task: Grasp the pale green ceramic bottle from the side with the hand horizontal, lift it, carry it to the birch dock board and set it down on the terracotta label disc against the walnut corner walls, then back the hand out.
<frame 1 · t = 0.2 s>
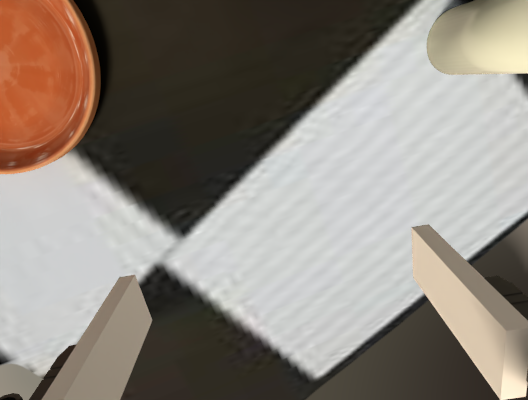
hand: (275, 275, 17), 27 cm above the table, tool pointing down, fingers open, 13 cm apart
saucer: (2, 65, 39), on the table
bottle: (457, 41, 39), on the table
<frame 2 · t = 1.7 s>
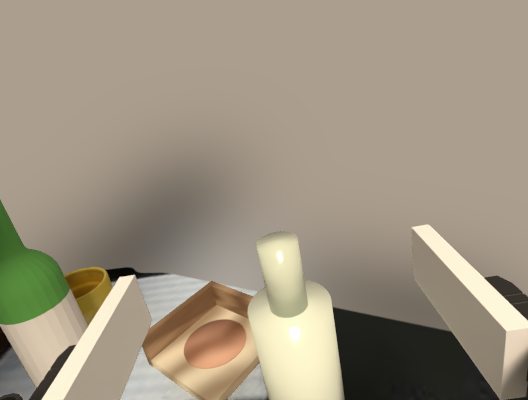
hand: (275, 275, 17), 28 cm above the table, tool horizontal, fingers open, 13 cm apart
wine bottle: (83, 395, 48), on the table
dock: (217, 348, 51), on the table
plant pot: (95, 333, 59), on the table
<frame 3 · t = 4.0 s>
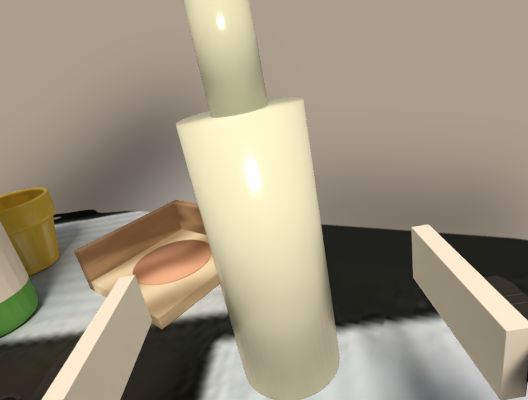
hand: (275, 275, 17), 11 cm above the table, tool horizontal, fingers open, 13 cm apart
wine bottle: (2, 323, 37), on the table
bottle: (291, 357, 26), on the table
dock: (176, 269, 41), on the table
plant pot: (35, 266, 49), on the table
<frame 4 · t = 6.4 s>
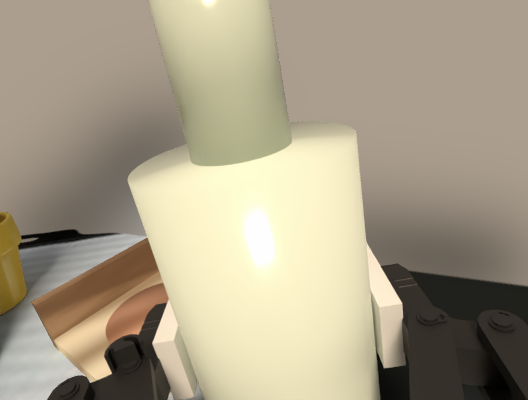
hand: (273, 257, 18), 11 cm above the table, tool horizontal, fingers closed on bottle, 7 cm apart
dock: (161, 322, 32), on the table
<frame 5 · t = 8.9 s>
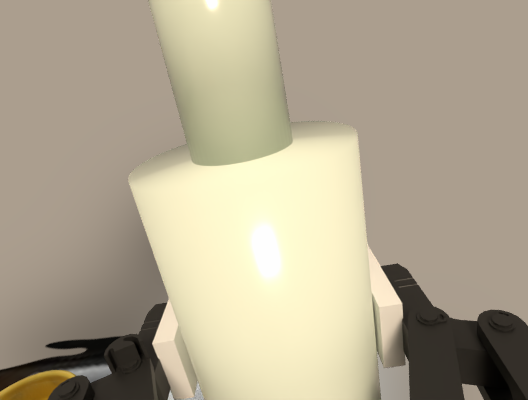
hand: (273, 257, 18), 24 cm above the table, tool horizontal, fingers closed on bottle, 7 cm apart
when the fingers open (13 cm above the table, at t = 11.6 s): bottle drops 1 cm, resting on dock.
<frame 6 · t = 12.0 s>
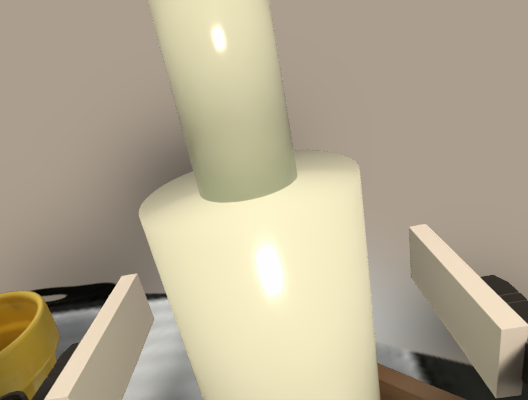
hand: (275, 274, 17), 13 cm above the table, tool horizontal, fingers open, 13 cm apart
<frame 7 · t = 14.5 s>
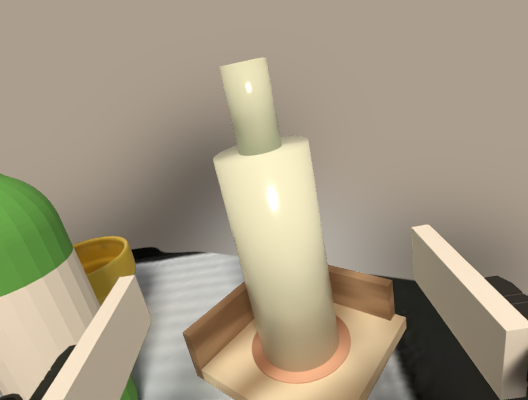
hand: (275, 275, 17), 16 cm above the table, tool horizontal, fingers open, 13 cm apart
bottle: (300, 340, 32), point 1 cm above the table, touching dock
dock: (302, 351, 33), on the table
plant pot: (111, 330, 42), on the table
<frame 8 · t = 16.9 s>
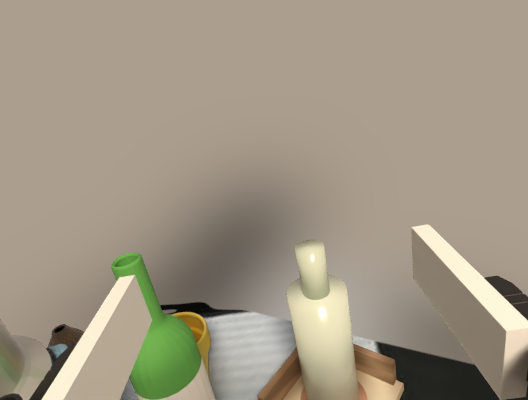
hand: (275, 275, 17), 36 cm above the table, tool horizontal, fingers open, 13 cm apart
vase: (78, 366, 65), on the table
bottle: (333, 398, 48), point 1 cm above the table, touching dock
plant pot: (190, 381, 57), on the table
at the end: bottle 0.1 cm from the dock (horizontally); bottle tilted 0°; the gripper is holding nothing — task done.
